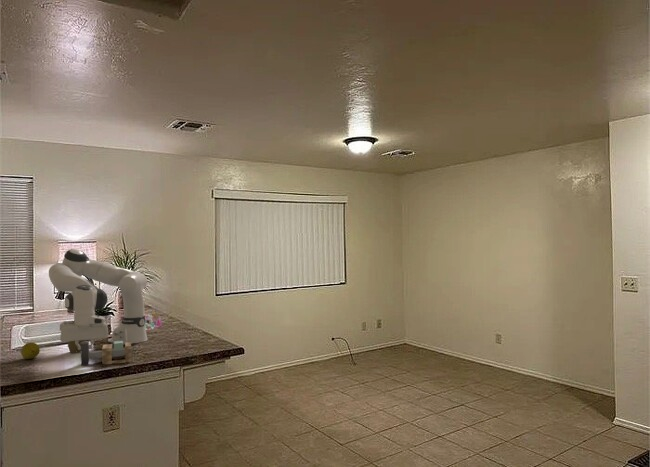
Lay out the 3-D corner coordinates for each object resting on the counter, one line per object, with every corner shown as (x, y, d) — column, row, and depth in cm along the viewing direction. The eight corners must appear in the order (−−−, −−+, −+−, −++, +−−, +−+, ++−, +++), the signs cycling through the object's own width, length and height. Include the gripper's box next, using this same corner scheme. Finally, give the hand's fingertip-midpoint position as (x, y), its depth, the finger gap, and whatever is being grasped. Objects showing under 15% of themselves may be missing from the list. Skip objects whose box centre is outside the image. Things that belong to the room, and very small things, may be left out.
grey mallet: (81, 365, 219) (80, 343, 219) (82, 362, 223) (81, 341, 223) (133, 359, 227) (132, 339, 227) (133, 357, 232) (132, 337, 232)
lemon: (21, 357, 235) (20, 341, 235) (39, 355, 240) (39, 339, 240) (21, 362, 226) (20, 346, 226) (39, 360, 231) (39, 343, 231)
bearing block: (102, 364, 220) (102, 348, 220) (103, 360, 229) (103, 344, 229) (131, 361, 225) (130, 346, 225) (131, 357, 233) (130, 342, 233)
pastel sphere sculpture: (125, 326, 318) (125, 312, 318) (162, 323, 326) (161, 310, 326) (121, 333, 295) (121, 318, 295) (161, 330, 302) (161, 315, 302)
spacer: (113, 351, 224) (113, 343, 224) (114, 348, 229) (114, 341, 229) (122, 350, 226) (122, 342, 226) (123, 347, 230) (123, 340, 230)
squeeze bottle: (87, 349, 250) (87, 316, 250) (80, 353, 242) (80, 318, 242) (72, 350, 250) (72, 316, 250) (64, 354, 242) (64, 319, 242)
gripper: (58, 323, 215) (59, 353, 215) (107, 319, 222) (108, 348, 222) (60, 320, 220) (60, 350, 220) (108, 317, 228) (108, 345, 228)
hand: (85, 349), depth 222 cm, fingers closed on grey mallet, 3 cm apart
